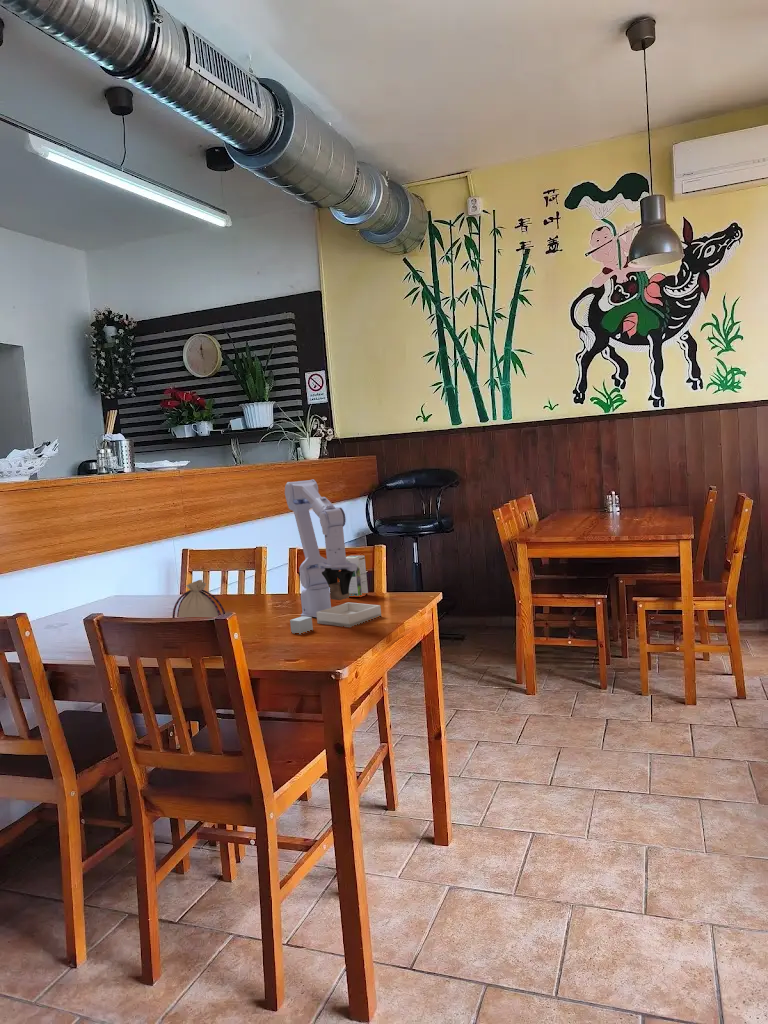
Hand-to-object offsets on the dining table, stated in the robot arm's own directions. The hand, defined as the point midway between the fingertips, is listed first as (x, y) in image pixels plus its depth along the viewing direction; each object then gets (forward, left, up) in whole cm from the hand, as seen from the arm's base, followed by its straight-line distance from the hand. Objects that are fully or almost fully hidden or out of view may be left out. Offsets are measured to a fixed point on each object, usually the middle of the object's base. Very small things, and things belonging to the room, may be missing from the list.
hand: (339, 593), depth 220 cm
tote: (-2, +4, -9) cm, 10 cm away
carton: (-6, -12, -10) cm, 16 cm away
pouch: (-22, -36, -10) cm, 43 cm away
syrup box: (-25, +32, -10) cm, 42 cm away
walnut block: (0, 0, -2) cm, 2 cm away
